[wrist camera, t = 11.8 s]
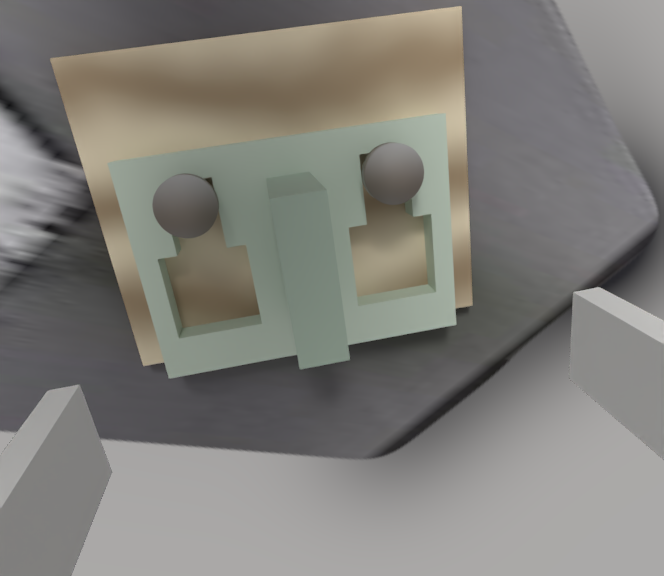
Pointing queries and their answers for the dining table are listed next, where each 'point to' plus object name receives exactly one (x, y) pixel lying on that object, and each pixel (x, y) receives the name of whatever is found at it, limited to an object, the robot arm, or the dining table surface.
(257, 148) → the panel
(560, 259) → the dining table surface
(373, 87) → the boss board
